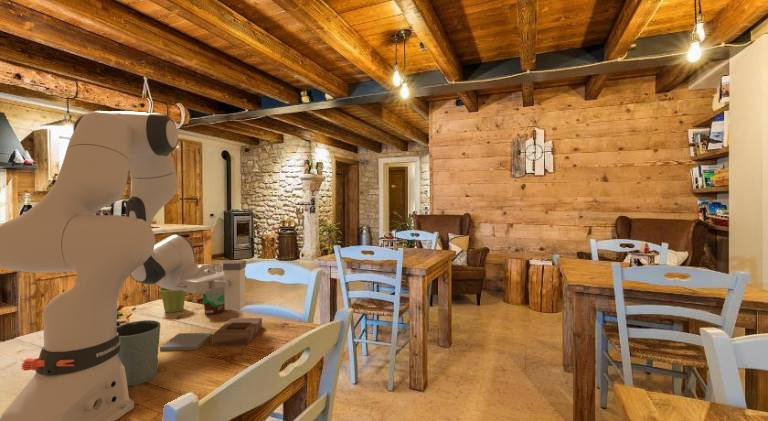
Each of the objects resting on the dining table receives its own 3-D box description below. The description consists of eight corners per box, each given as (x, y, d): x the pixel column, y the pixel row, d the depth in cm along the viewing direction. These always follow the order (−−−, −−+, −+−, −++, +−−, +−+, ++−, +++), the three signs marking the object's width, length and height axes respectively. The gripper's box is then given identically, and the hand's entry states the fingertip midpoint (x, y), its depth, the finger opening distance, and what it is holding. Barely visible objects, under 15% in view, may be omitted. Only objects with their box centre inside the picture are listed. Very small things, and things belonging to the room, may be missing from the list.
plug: (240, 309, 107) (240, 263, 107) (223, 310, 107) (223, 263, 107) (246, 304, 112) (245, 260, 112) (230, 305, 112) (229, 260, 112)
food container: (217, 317, 127) (216, 289, 127) (202, 316, 129) (201, 288, 128) (238, 307, 139) (237, 281, 139) (224, 306, 141) (223, 280, 140)
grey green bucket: (152, 363, 92) (151, 317, 92) (168, 376, 86) (167, 326, 85) (103, 379, 84) (102, 328, 84) (117, 394, 78) (115, 339, 77)
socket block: (247, 344, 104) (247, 334, 104) (212, 345, 103) (212, 334, 103) (261, 327, 118) (261, 318, 118) (230, 327, 117) (230, 318, 117)
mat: (196, 349, 100) (196, 346, 100) (159, 350, 100) (159, 347, 100) (212, 336, 110) (212, 332, 110) (178, 336, 110) (178, 333, 110)
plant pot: (179, 314, 130) (178, 290, 130) (153, 314, 131) (152, 290, 130) (193, 306, 140) (192, 284, 139) (169, 306, 140) (168, 284, 140)
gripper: (172, 275, 103) (211, 278, 99) (223, 262, 123) (258, 265, 119) (172, 297, 104) (211, 301, 99) (224, 281, 123) (258, 284, 119)
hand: (237, 281), depth 109 cm, fingers closed on plug, 6 cm apart
